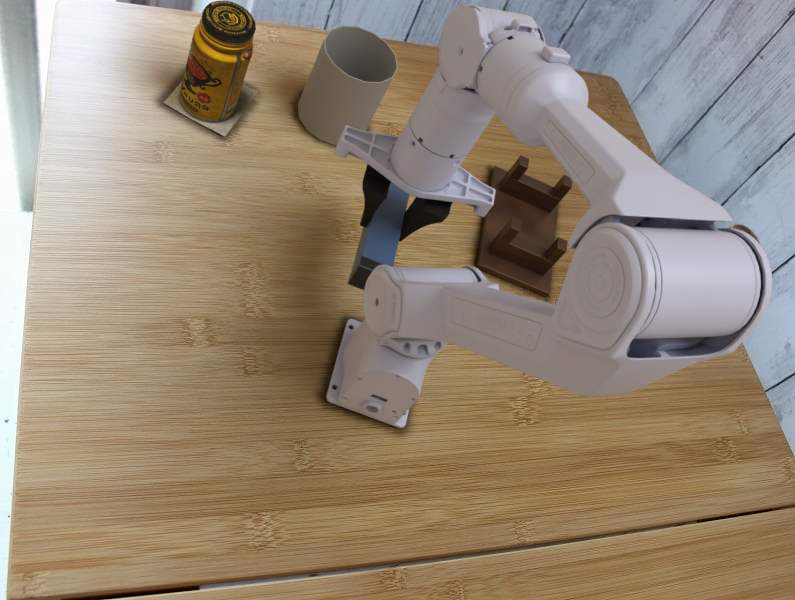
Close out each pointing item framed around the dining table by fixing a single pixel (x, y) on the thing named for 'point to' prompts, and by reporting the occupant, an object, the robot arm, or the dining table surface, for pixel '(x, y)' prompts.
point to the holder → (522, 228)
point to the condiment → (217, 68)
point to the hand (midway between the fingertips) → (382, 226)
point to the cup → (346, 82)
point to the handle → (380, 237)
